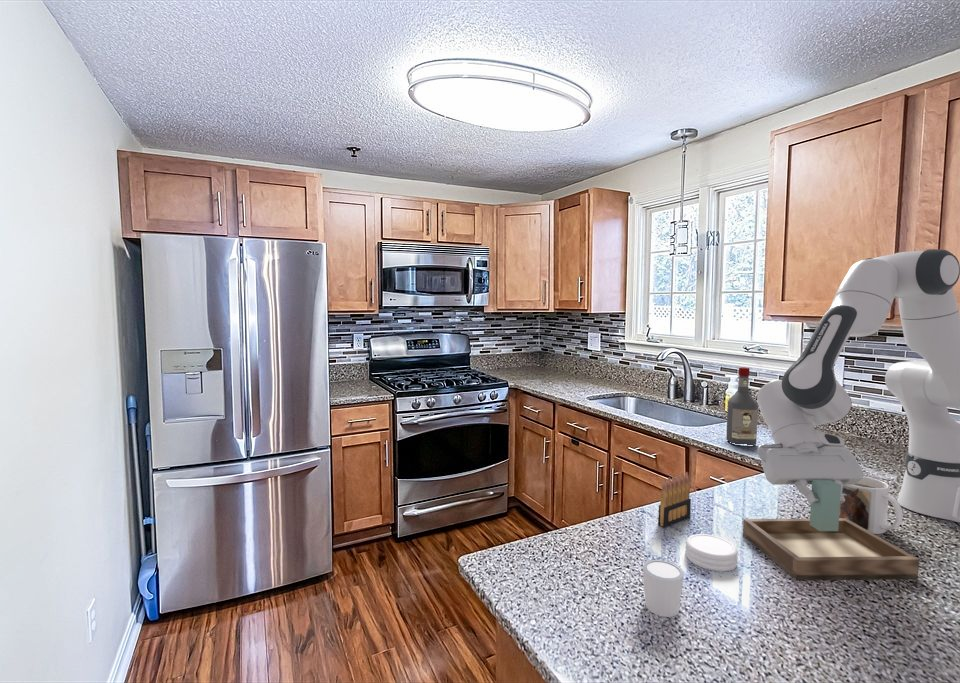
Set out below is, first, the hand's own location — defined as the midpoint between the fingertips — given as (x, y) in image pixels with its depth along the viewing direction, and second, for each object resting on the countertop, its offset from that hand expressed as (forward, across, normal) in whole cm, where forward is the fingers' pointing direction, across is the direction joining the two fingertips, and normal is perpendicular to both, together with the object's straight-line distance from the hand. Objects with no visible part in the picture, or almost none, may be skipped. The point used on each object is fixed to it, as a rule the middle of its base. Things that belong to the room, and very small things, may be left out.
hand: (827, 502), depth 102 cm
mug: (-1, +20, +18) cm, 27 cm away
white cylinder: (+20, -42, -3) cm, 47 cm away
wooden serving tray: (+8, 0, +9) cm, 12 cm away
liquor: (-52, +31, +69) cm, 92 cm away
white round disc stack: (+9, -25, +9) cm, 28 cm away
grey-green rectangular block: (+4, 0, +5) cm, 6 cm away
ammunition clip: (-4, -25, +21) cm, 33 cm away
